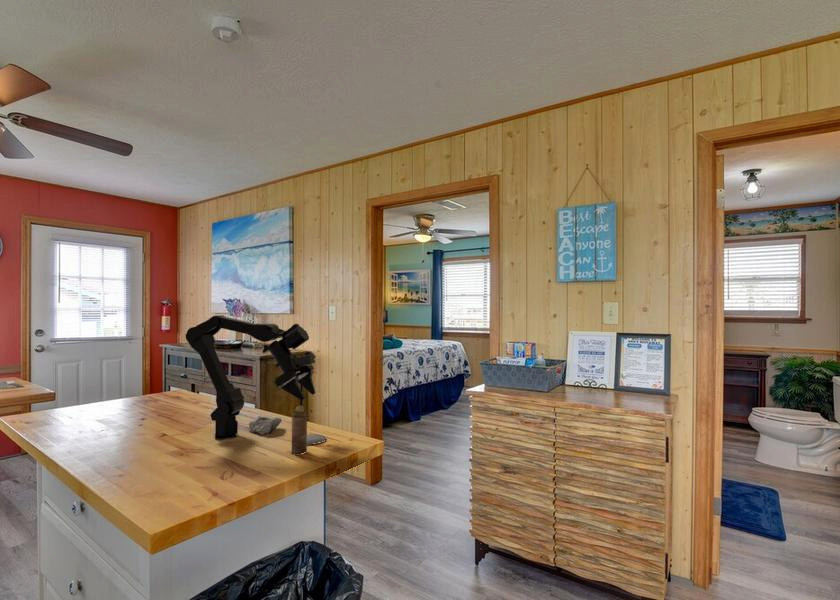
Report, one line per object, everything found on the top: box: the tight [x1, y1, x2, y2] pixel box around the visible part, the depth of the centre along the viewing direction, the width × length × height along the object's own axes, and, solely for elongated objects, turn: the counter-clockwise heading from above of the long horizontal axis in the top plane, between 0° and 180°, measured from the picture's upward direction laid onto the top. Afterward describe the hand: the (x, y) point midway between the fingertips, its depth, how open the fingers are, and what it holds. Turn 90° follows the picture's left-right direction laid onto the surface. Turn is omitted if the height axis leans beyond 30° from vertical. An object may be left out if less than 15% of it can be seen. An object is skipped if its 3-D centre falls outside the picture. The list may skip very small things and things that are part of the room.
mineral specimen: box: [248, 415, 283, 435], centre depth 157 cm, size 6×11×12 cm
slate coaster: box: [307, 433, 327, 444], centre depth 146 cm, size 10×10×1 cm
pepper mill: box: [291, 405, 308, 455], centre depth 134 cm, size 4×4×14 cm
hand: (308, 396), depth 146 cm, fingers open, 9 cm apart
